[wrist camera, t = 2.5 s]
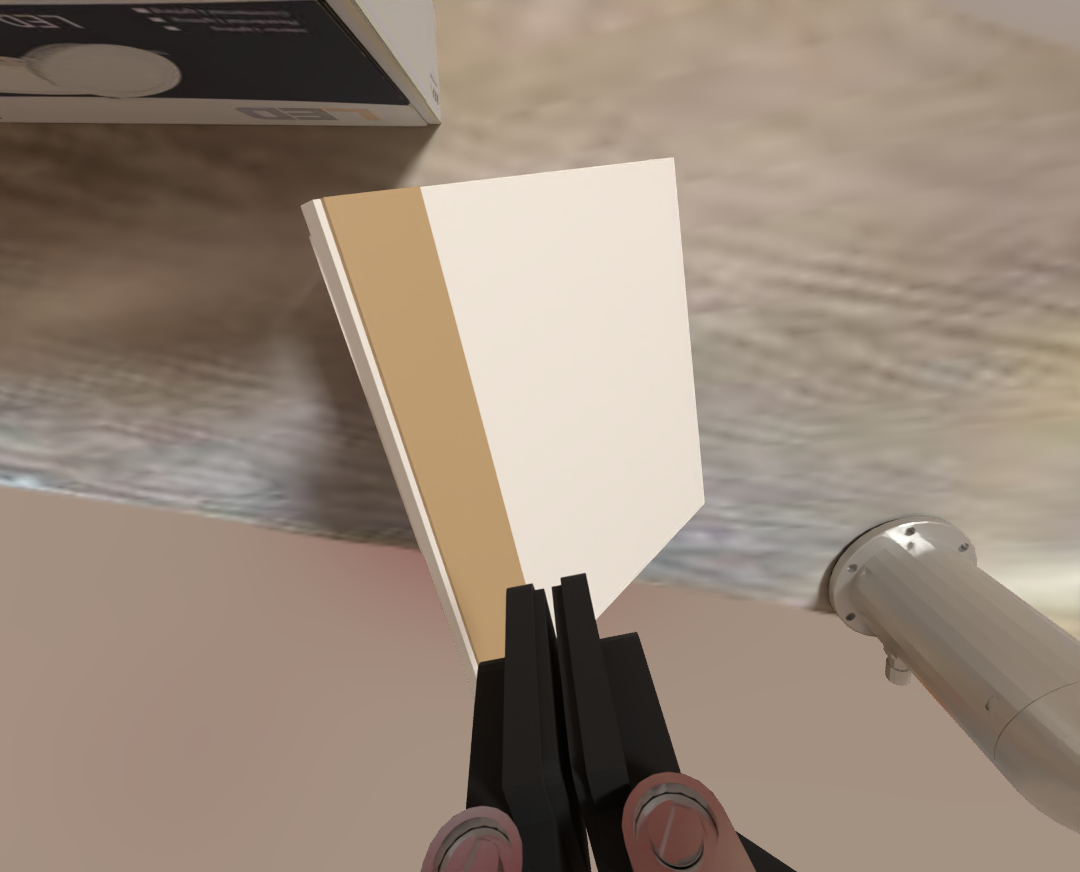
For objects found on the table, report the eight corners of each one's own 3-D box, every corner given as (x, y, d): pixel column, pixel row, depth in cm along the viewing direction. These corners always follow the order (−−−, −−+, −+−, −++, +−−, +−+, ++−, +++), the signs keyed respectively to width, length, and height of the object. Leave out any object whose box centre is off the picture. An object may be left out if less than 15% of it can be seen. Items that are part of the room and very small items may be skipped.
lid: (692, 500, 32) (707, 504, 31) (481, 718, 21) (497, 731, 20) (659, 161, 25) (677, 156, 24) (300, 205, 13) (315, 197, 13)
